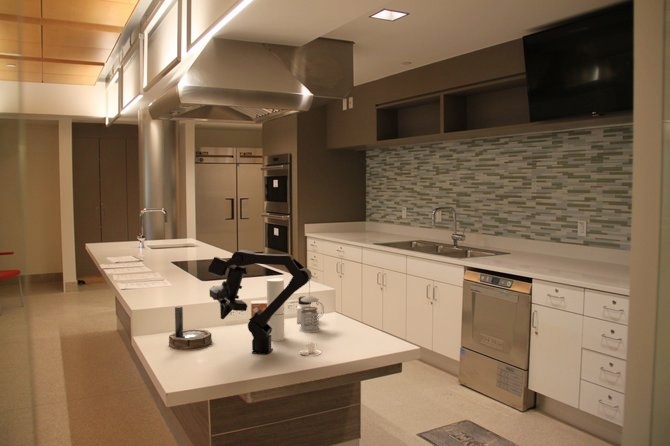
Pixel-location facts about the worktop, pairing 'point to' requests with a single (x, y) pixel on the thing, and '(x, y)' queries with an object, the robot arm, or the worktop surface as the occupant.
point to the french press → (310, 315)
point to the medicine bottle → (299, 309)
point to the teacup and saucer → (310, 349)
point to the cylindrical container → (277, 319)
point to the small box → (258, 306)
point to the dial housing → (190, 341)
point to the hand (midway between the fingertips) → (222, 318)
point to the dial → (179, 327)
